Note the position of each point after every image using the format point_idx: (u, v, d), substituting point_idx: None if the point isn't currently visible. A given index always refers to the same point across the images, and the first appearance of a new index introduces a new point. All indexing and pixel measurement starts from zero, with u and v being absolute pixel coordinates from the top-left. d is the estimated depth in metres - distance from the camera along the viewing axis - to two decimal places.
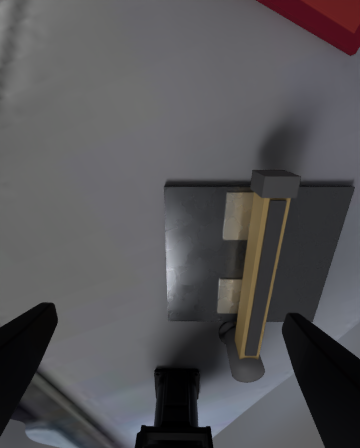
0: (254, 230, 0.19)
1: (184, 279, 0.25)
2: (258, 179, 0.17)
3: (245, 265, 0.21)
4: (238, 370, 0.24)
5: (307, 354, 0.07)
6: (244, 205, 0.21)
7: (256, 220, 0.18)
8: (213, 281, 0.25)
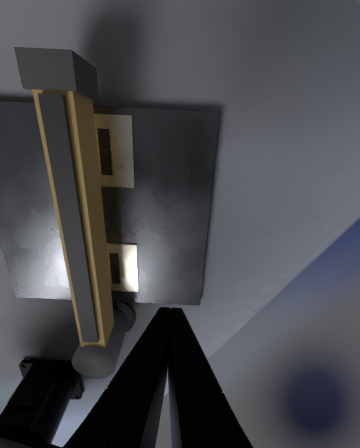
0: None
1: (22, 240, 0.19)
2: None
3: None
4: (80, 361, 0.18)
5: (168, 349, 0.07)
6: None
7: None
8: (60, 245, 0.19)
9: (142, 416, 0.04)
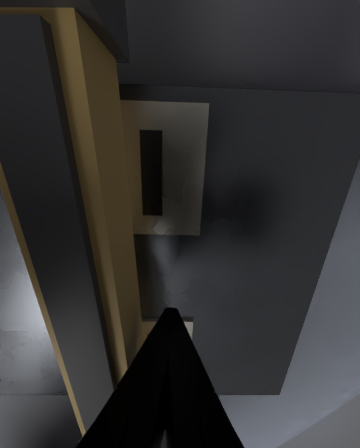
0: None
1: (1, 319, 0.11)
2: None
3: None
4: None
5: None
6: None
7: None
8: None
9: (152, 416, 0.04)
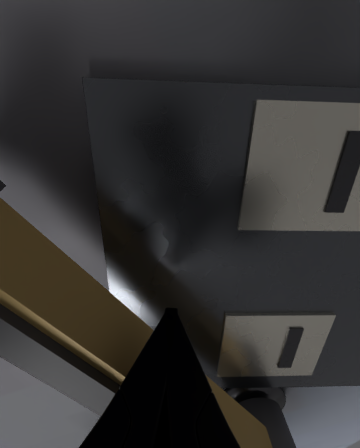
0: None
1: (151, 316, 0.12)
2: None
3: None
4: None
5: None
6: (297, 140, 0.08)
7: None
8: (212, 319, 0.12)
9: (156, 417, 0.04)
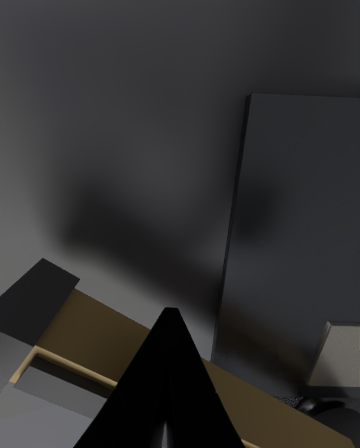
0: None
1: (256, 323, 0.12)
2: None
3: None
4: None
5: None
6: None
7: None
8: (315, 328, 0.12)
9: (151, 417, 0.04)
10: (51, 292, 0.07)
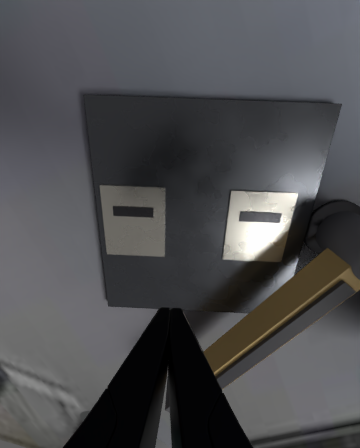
0: None
1: (219, 294, 0.20)
2: None
3: None
4: None
5: (168, 349, 0.07)
6: (120, 236, 0.18)
7: None
8: (226, 265, 0.19)
9: (142, 416, 0.04)
10: None
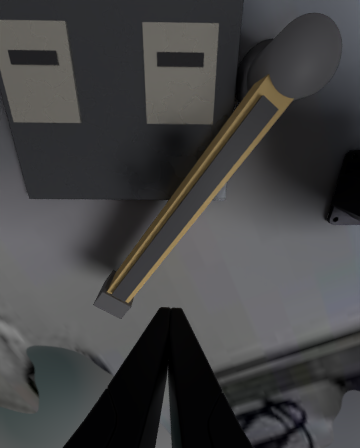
0: None
1: (151, 176, 0.18)
2: None
3: None
4: (316, 76, 0.12)
5: (168, 349, 0.07)
6: (24, 95, 0.16)
7: None
8: (153, 133, 0.17)
9: (142, 416, 0.04)
10: (106, 282, 0.19)
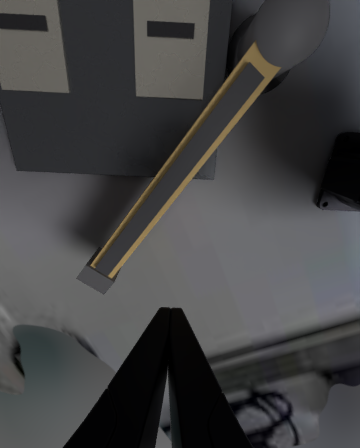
0: None
1: (140, 151, 0.18)
2: None
3: None
4: (303, 44, 0.11)
5: (168, 349, 0.07)
6: (13, 61, 0.15)
7: None
8: (142, 107, 0.17)
9: (142, 416, 0.04)
10: None
